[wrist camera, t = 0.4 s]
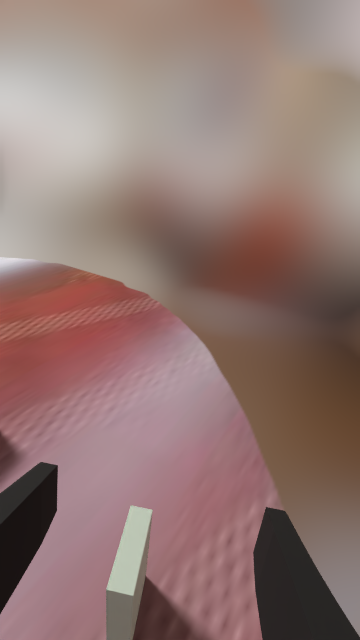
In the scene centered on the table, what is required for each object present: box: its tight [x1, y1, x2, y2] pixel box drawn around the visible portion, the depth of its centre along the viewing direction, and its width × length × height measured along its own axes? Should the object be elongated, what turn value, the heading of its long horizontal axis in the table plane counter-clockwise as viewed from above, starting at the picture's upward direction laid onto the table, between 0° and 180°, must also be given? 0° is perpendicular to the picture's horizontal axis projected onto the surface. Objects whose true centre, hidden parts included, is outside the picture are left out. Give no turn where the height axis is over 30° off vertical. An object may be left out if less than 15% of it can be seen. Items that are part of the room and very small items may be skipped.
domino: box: [106, 506, 152, 640], centre depth 22 cm, size 2×5×9 cm, turn 172°
